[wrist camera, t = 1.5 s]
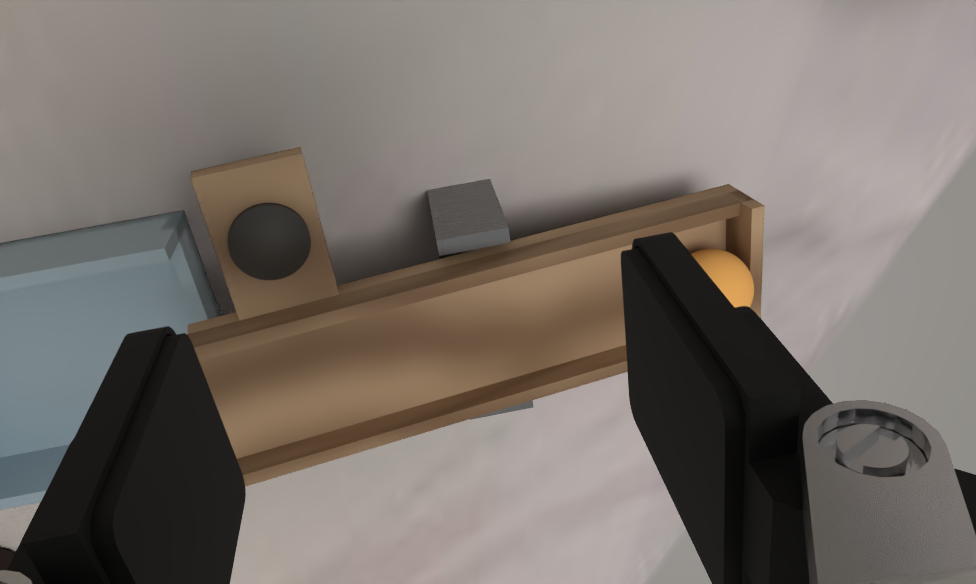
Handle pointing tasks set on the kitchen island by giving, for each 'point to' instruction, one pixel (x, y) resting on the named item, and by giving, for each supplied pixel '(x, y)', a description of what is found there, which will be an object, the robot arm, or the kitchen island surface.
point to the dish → (81, 329)
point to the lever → (414, 317)
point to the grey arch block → (469, 227)
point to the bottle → (5, 559)
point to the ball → (727, 275)
